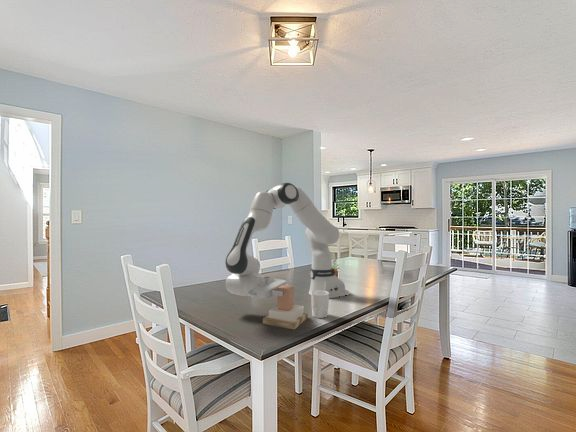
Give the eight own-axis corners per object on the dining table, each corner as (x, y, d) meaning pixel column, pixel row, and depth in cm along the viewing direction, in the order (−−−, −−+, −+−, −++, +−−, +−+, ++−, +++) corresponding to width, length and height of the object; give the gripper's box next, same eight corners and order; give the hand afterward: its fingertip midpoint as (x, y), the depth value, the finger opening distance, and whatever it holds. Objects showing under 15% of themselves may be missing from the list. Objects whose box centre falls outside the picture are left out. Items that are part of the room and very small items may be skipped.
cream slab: (280, 309, 133) (280, 302, 133) (303, 313, 128) (303, 306, 128) (268, 317, 123) (268, 310, 123) (293, 321, 118) (293, 314, 118)
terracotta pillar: (283, 305, 128) (282, 284, 128) (293, 307, 126) (293, 285, 126) (277, 309, 124) (277, 287, 124) (288, 310, 122) (288, 288, 122)
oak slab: (278, 315, 134) (278, 308, 134) (307, 320, 128) (307, 313, 128) (262, 325, 122) (262, 318, 122) (294, 331, 116) (294, 324, 116)
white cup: (309, 312, 135) (309, 290, 135) (326, 312, 136) (327, 290, 136) (312, 319, 127) (312, 295, 127) (330, 318, 128) (330, 295, 128)
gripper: (246, 285, 121) (276, 289, 115) (270, 275, 139) (297, 278, 134) (246, 301, 121) (276, 305, 115) (270, 289, 139) (297, 292, 134)
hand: (288, 291), depth 124 cm, fingers open, 8 cm apart
